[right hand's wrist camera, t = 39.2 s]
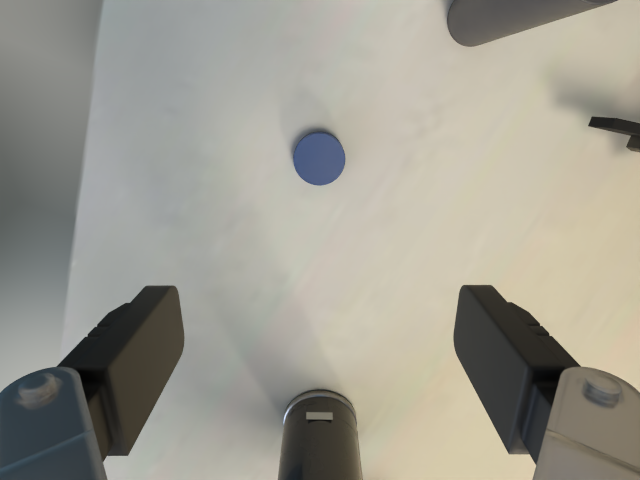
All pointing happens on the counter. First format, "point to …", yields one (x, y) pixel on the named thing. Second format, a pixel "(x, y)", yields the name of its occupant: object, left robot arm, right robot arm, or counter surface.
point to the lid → (319, 158)
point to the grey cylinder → (508, 17)
